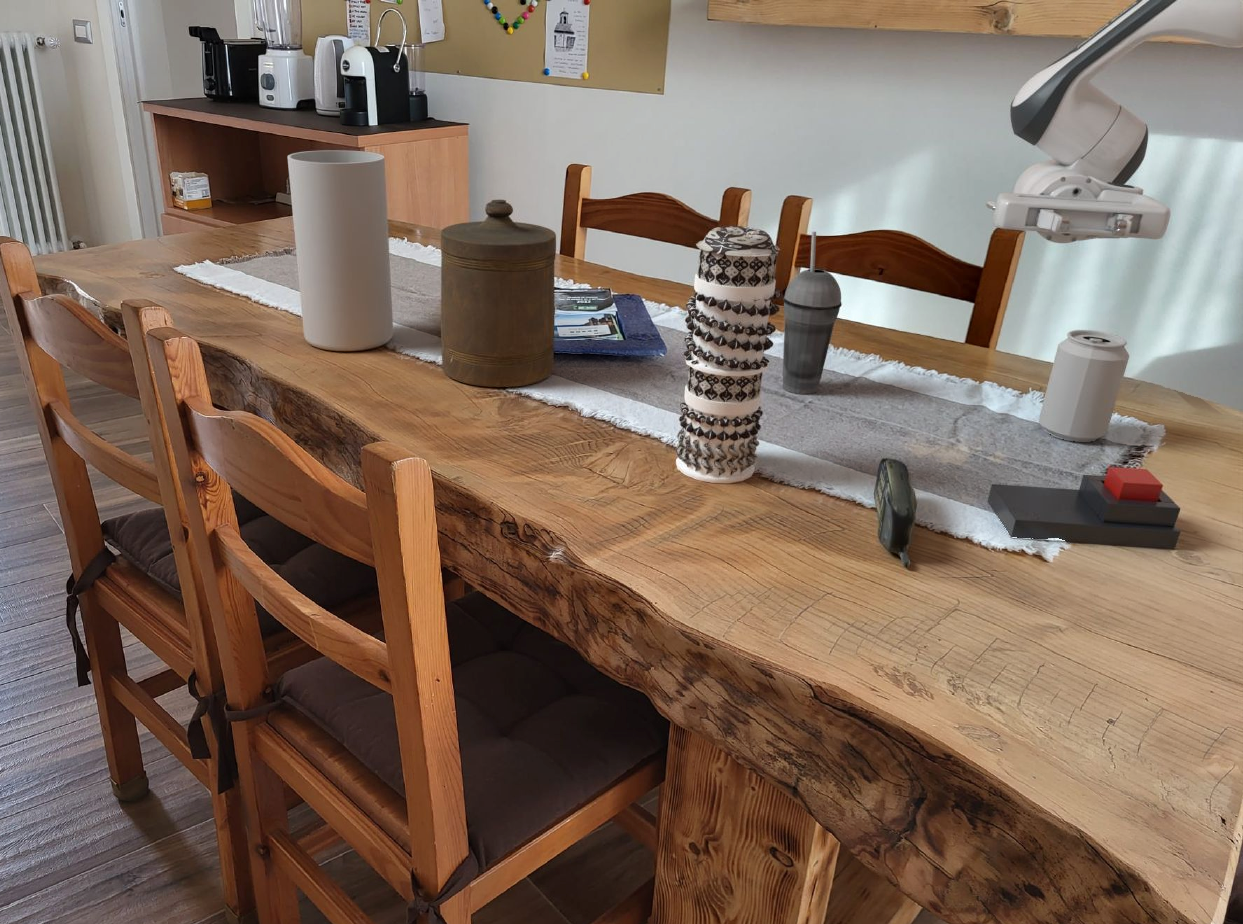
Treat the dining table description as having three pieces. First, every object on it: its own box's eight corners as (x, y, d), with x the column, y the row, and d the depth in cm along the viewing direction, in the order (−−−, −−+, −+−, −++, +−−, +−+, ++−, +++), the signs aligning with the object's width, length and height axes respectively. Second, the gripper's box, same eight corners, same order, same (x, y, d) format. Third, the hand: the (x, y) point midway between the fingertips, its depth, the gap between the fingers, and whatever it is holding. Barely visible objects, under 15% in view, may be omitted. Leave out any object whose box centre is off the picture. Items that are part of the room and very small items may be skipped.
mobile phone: (876, 452, 100) (891, 516, 86) (907, 455, 99) (927, 520, 86) (868, 497, 102) (882, 566, 88) (898, 500, 101) (917, 570, 88)
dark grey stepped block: (1138, 511, 100) (1150, 475, 98) (1174, 550, 93) (1187, 512, 91) (987, 501, 101) (995, 465, 100) (1010, 538, 94) (1020, 500, 92)
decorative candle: (772, 482, 104) (805, 240, 93) (687, 487, 102) (711, 241, 91) (740, 447, 112) (767, 221, 100) (661, 452, 110) (680, 221, 99)
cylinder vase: (286, 344, 139) (267, 158, 128) (338, 322, 150) (325, 147, 138) (361, 358, 135) (348, 166, 124) (410, 334, 145) (402, 155, 134)
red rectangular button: (1140, 488, 97) (1147, 469, 96) (1156, 504, 94) (1163, 485, 93) (1102, 485, 97) (1108, 466, 96) (1117, 501, 94) (1123, 482, 93)
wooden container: (560, 356, 138) (565, 193, 129) (543, 392, 125) (546, 214, 115) (457, 348, 140) (453, 187, 130) (429, 383, 127) (423, 207, 117)
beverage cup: (804, 402, 125) (827, 242, 116) (760, 385, 130) (779, 231, 121) (839, 390, 130) (864, 235, 121) (795, 375, 135) (816, 225, 126)
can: (1107, 429, 120) (1136, 334, 115) (1101, 450, 114) (1131, 350, 109) (1041, 416, 124) (1066, 322, 118) (1032, 435, 118) (1057, 337, 112)
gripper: (988, 178, 132) (1008, 194, 120) (1153, 187, 129) (1191, 206, 117) (978, 226, 135) (997, 247, 123) (1139, 237, 132) (1175, 259, 119)
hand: (1093, 227), depth 120 cm, fingers open, 5 cm apart
